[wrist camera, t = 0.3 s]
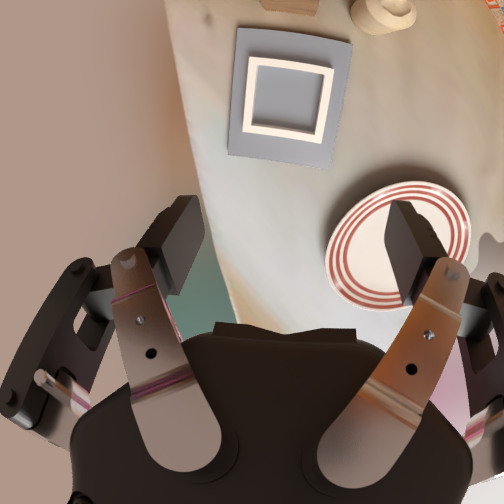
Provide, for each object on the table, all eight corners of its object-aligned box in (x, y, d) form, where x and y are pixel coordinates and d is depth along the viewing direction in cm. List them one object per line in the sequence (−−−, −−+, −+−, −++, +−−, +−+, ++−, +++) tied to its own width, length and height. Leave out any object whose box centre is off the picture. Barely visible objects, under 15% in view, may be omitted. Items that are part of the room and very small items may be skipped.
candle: (355, -8, 20) (375, -29, 12) (395, 10, 20) (427, -3, 12) (344, 24, 23) (362, 11, 16) (385, 42, 24) (415, 37, 16)
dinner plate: (471, 165, 31) (482, 174, 28) (453, 287, 47) (458, 299, 44) (309, 187, 39) (310, 198, 37) (332, 308, 55) (333, 321, 52)
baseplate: (239, 28, 26) (235, 26, 24) (351, 44, 25) (355, 43, 23) (229, 152, 37) (225, 158, 35) (328, 168, 37) (330, 174, 35)
